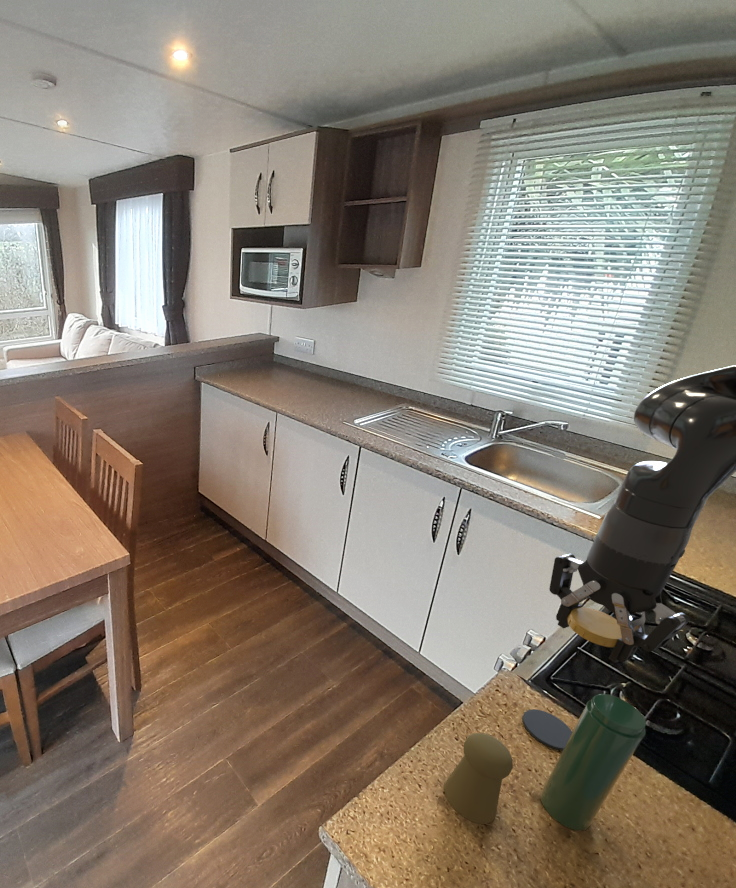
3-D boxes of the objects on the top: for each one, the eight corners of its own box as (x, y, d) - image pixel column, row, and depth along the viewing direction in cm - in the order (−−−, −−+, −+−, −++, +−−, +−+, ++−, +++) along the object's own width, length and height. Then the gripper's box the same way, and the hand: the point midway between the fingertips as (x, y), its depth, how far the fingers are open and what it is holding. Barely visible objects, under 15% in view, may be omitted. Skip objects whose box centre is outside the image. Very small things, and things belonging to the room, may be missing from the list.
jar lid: (583, 644, 64) (587, 636, 63) (558, 612, 69) (561, 604, 69) (634, 650, 63) (639, 642, 62) (605, 617, 68) (608, 609, 67)
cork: (499, 797, 66) (524, 745, 61) (491, 835, 61) (516, 781, 57) (449, 767, 69) (469, 715, 65) (438, 800, 65) (458, 748, 61)
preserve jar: (574, 792, 66) (628, 695, 58) (599, 834, 61) (662, 735, 54) (532, 784, 67) (580, 688, 59) (553, 826, 62) (608, 727, 54)
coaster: (558, 714, 76) (559, 712, 76) (584, 754, 71) (585, 751, 70) (514, 708, 78) (515, 706, 77) (535, 746, 72) (536, 744, 72)
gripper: (555, 519, 65) (518, 613, 72) (695, 586, 53) (634, 692, 60) (592, 508, 67) (553, 601, 74) (735, 571, 55) (671, 675, 62)
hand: (589, 641), depth 67 cm, fingers closed on jar lid, 5 cm apart
